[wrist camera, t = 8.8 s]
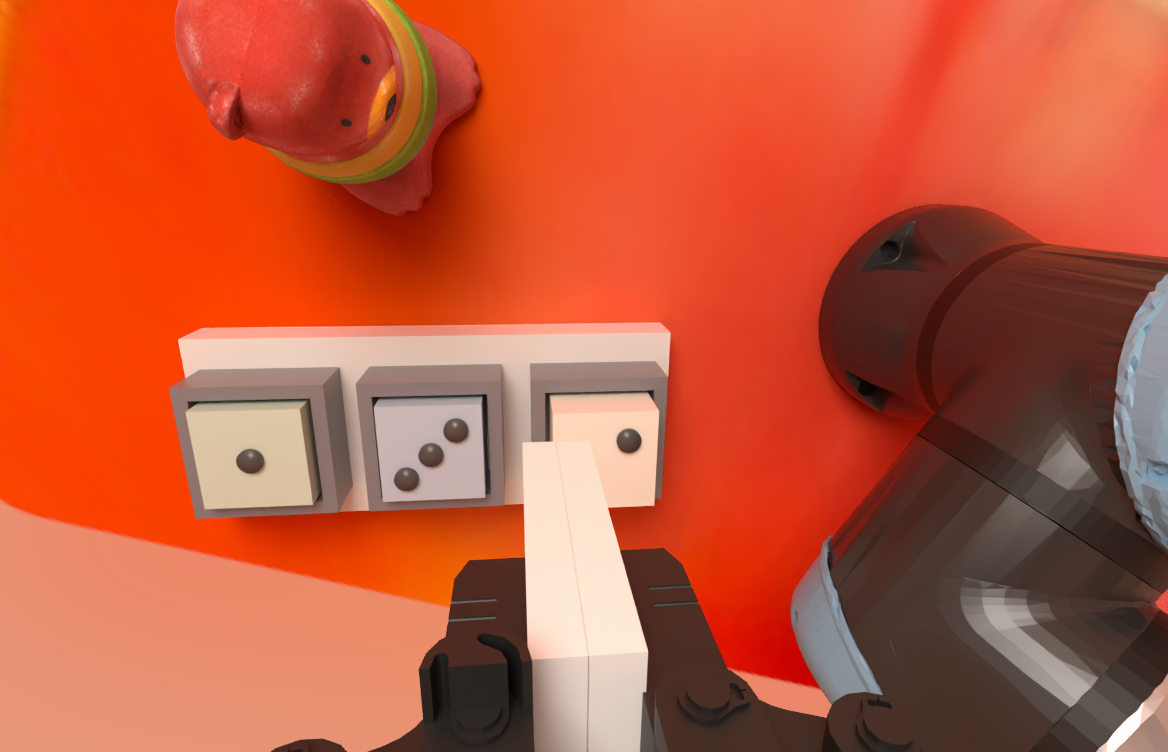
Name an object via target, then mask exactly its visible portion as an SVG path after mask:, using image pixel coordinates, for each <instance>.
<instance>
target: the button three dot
mask: <svg viewBox="0 0 1168 752" xmlns="http://www.w3.org/2000/svg"><path fill="white" fill-rule="evenodd" d="M374 415H375V425H376V436H377V446H378V456H379V466H380V476H381V486H382V497H383V502H394V501H419V500H443V499H467V498H485V495H486V484H487V474H488V455H487V430H486V404H485V394H476V395H434V396H392V397H380V398H379V400H378V401H377V403H376V404H375V406H374Z"/></svg>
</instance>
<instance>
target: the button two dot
mask: <svg viewBox="0 0 1168 752" xmlns="http://www.w3.org/2000/svg"><path fill="white" fill-rule="evenodd" d="M658 425H659V410H658V408H657V407H656V405H655V403H654V402H653V400H652V399H651V397H650V395H649V394H648V392H647V390H644V391H602V392H560V393H549V442H556V441H586V440H589V442H590V446H591V450H592V453H593V457H594V460H595V464H596V467H597V471H598V475H599V478H600V482H601V485H602V489H603V492H604V496H605V499H606V503H607V507H608V508H611V507H634V506H654V501H655V482H656V463H657V444H658Z"/></svg>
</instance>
